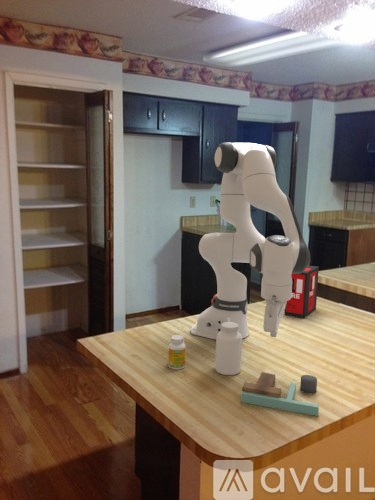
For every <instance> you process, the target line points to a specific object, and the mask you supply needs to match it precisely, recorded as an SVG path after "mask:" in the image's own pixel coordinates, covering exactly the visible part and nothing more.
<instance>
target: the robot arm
mask: <svg viewBox="0 0 375 500" xmlns="http://www.w3.org/2000/svg"><path fill="white" fill-rule="evenodd" d="M214 164H215V167H216V169H217V170H218V171H219V172H221V173H222V180H221V185H220V186H221V187H220V195H219V196H220V200H219V201H220V202H219V216H220V218H221V219H222V220H224V221H225V222H226V223H228V224H230V225H231V226H233V227H234V228H235V230H236V231H235V232H218V231H216V232H211V233H206V234H204V235H203V236H202V237H201V238H200V240H199V244H198V251H199V255H201V257H202V258H203V260H204V261H206V262H208V264H209V265H210V266H211V268H212V269H213V271H214V273H215V276H216V285H217V286H216V287H217V288H216V289H217V290H216V292H217V293H216V294H214V295H213V298H211V302H210V303H211V305H210V307H208V308H206V309H205V310H204V311H201V312H200V314H199V315H198V317H197V320H196V323H195V324H193V325H192V326H191V328H190V335H193V336H199V337H203V338H208V339H212V340H216V337H217V334H218V333H219V332H220V331H221V324H222V323H224V322H233V323H236V324H238V332H239V333H240V334H241V336H242V339H245V338H247V337H248V336H249V335H250V332H249V326H248V319H247V312H248V304H249V303H248V298H247V290H248V289H247V286H248V279H247V277H246V276H245V274H243V273H242V272H241V271H238V270H236V269H235V268H233V267H232V264H233V263H244V264H245V263H247V264H249V266H250V268H251V269H253V271H255V272H256V273H258V274H262V278H261V286H260V287H261V288H260V289H261V290H260V297H261V298H262V299H264V302H265V303H266V305H265V307H264V308H265V309H264V317H263V331H264V332H266V333H269V336H270V337H271V338H276V337H277V335H278V332H279V330H278V329H279V325H280V323H281V320H282V318H283V316H284V312H285V307H286V303H287V301H288V300H290V299H291V295H292V278H291V274H292V273H293V274H300V273H302V272H303V271H304V270H305V269H306V268H307V267H308V266H310V264H311V253H310V249H309V247H308V245H307V243H306V241H305V238H304V237H303V234H302V230H301V227H300V224H299V221H298V218H297V214H296V212H295V209H294V206H293V203H292V202H291V198H290V197H289V196H288V195H287V194H286V193H284V192H283V191H282V190H281V188H280V186H279V183H278V182H277V177H276V170H275V167H276V164H277V153H276V150H275V148H274V147H273V146H270V145H267V144H260V143H259V144H258V143H254V142H231V141H228V142H222V143H220V144H218V146H217V148H216V150H215V153H214ZM251 206H252V207H254V208H256V209H259V210H262V211H265V212H267V213H270V214H272V215H274V216H275V217H277V218H278V219H279V221H280V223H281V225H282V229H283V232H284V235H285V236H284V235H279V234H274V235H270V236H267V237H265V236H264V235H263V234H261V233H260V232H259V231H258V230H257V228H256V226H255V225H254V223H253V220H252V216H251Z"/></svg>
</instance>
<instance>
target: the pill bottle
mask: <svg viewBox="0 0 375 500" xmlns="http://www.w3.org/2000/svg"><path fill="white" fill-rule="evenodd" d="M215 340H216V342H215V365H214V367H215V368H214V369H215V371H216V372H217V373H218V374H221V375H225V376H234V375H238V374H239V373H241V369H242V368H241V367H242V350H243V338H242V336H241V334H240V333H239V332H238V324H236V323H233V322H224V323H222V324H221V331H220V332H219V333H218V334H217V337H216V339H215Z"/></svg>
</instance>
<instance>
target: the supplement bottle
mask: <svg viewBox="0 0 375 500" xmlns="http://www.w3.org/2000/svg"><path fill="white" fill-rule="evenodd" d="M186 348H187V347H186V344H185V342H184V336H183V335H181V334H173V335H171V336H170V343H168V352H167V353H168V356H167V357H168V367H169V368H170V369H172V370H182V369H185V367H186Z"/></svg>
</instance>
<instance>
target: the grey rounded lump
mask: <svg viewBox="0 0 375 500" xmlns="http://www.w3.org/2000/svg"><path fill="white" fill-rule="evenodd" d="M317 387H318V378H317V377H316V376H314V375H311V374H303V375H301V376H300V386H299V389H300V391H301V392H302V391H303V392H302V393H305V394H309V393H312V394H315V393H317ZM314 392H315V393H314Z"/></svg>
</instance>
